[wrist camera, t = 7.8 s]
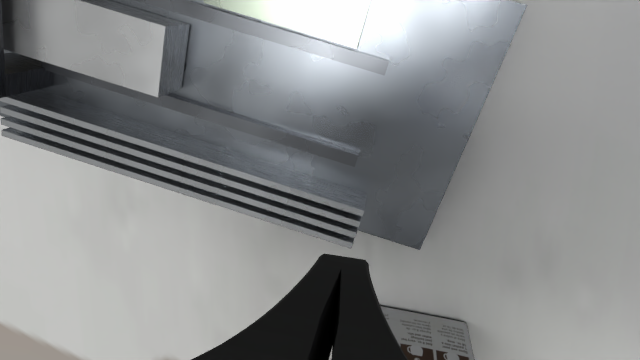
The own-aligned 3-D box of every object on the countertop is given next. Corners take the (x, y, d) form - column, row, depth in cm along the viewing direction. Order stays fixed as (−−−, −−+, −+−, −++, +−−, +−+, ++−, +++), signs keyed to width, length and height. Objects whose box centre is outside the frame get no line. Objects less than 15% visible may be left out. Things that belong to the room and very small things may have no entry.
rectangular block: (189, 24, 19) (165, 26, 17) (181, 88, 20) (157, 97, 18) (-13, -37, 19) (-60, -42, 17) (-9, 29, 21) (-53, 31, 19)
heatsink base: (520, 5, 17) (560, 4, 13) (418, 240, 22) (424, 293, 18) (-27, -153, 19) (-149, -200, 14) (-10, 103, 23) (-98, 123, 19)
